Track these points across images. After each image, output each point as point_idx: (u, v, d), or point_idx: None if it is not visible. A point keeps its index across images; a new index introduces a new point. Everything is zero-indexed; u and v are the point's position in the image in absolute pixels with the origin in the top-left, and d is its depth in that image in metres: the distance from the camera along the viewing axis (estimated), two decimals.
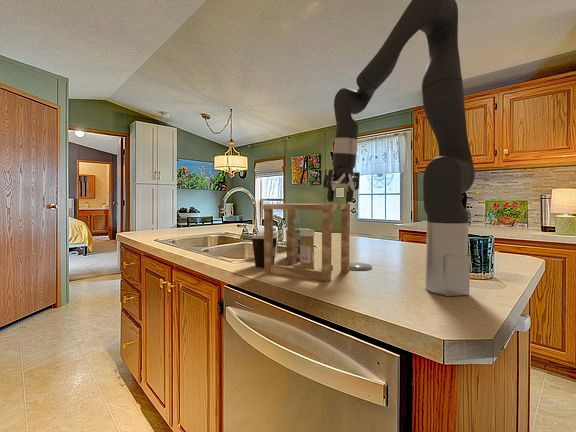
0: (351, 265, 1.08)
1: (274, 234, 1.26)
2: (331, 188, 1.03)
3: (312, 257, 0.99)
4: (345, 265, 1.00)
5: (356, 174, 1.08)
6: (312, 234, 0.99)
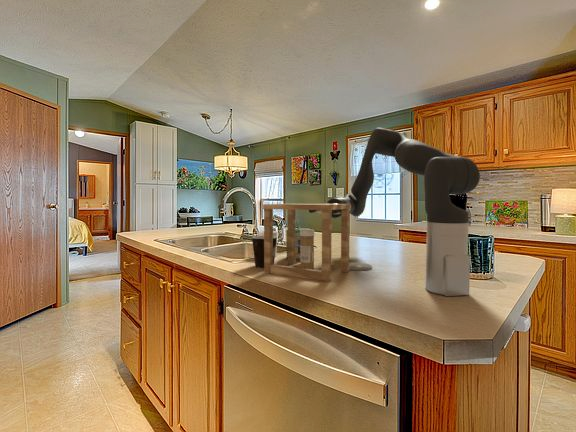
0: (351, 265, 1.08)
1: (274, 234, 1.26)
2: None
3: (312, 257, 0.99)
4: (345, 265, 1.00)
5: None
6: (312, 234, 0.99)
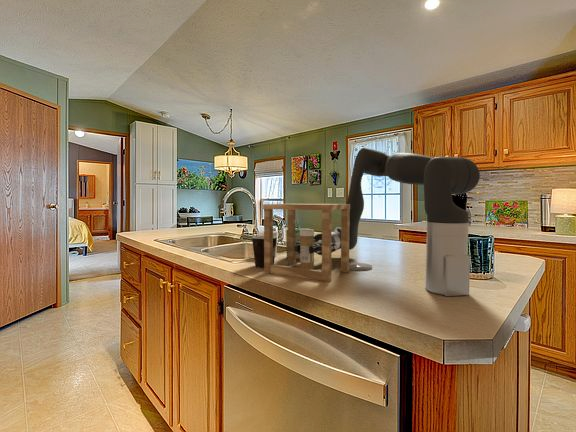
0: (351, 265, 1.08)
1: (274, 234, 1.26)
2: None
3: (312, 257, 0.99)
4: (345, 265, 1.00)
5: None
6: (312, 234, 0.99)
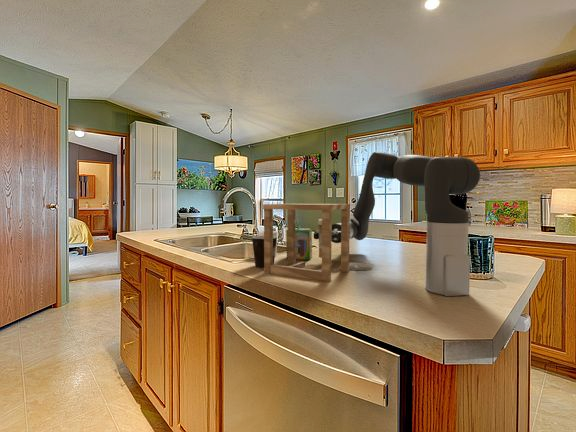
0: (351, 265, 1.08)
1: (274, 234, 1.26)
2: None
3: None
4: (345, 265, 1.00)
5: None
6: None
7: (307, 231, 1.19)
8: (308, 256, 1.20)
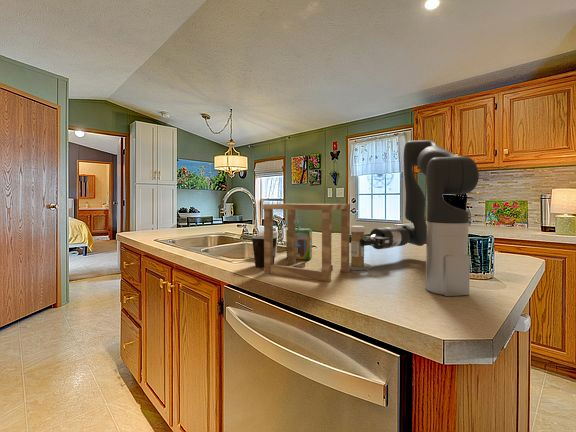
0: (351, 265, 1.08)
1: (274, 234, 1.26)
2: None
3: (361, 252, 1.05)
4: (345, 265, 1.00)
5: None
6: (361, 230, 1.05)
7: (307, 231, 1.19)
8: (308, 256, 1.20)
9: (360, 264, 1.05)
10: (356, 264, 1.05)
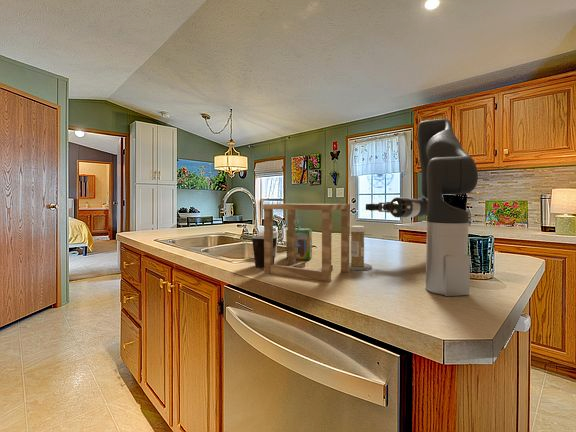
0: (351, 265, 1.08)
1: (274, 234, 1.26)
2: None
3: (361, 252, 1.05)
4: (345, 265, 1.00)
5: None
6: (361, 230, 1.05)
7: (307, 231, 1.19)
8: (308, 256, 1.20)
9: (360, 264, 1.05)
10: (356, 264, 1.05)
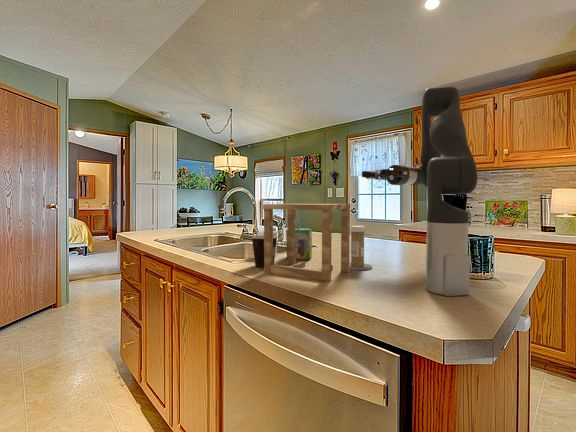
0: (351, 265, 1.08)
1: (274, 234, 1.26)
2: None
3: (361, 252, 1.05)
4: (345, 265, 1.00)
5: None
6: (361, 230, 1.05)
7: (307, 231, 1.19)
8: (308, 256, 1.20)
9: (360, 264, 1.05)
10: (356, 264, 1.05)
